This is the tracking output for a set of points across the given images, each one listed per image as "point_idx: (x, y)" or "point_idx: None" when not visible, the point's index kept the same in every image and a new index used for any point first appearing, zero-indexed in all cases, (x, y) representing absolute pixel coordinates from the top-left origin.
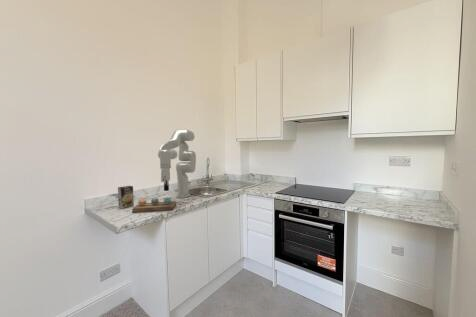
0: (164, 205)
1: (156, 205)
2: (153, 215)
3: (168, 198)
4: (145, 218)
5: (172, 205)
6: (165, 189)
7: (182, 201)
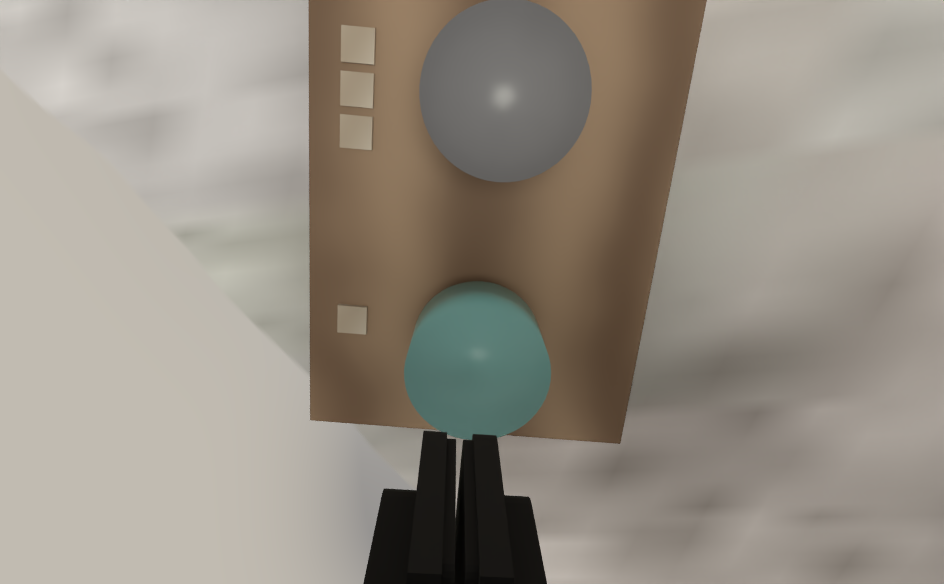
0: (407, 286)
1: None
2: (143, 132)
3: (459, 401)
4: (10, 24)
5: (371, 412)
6: (380, 506)
7: (765, 490)
